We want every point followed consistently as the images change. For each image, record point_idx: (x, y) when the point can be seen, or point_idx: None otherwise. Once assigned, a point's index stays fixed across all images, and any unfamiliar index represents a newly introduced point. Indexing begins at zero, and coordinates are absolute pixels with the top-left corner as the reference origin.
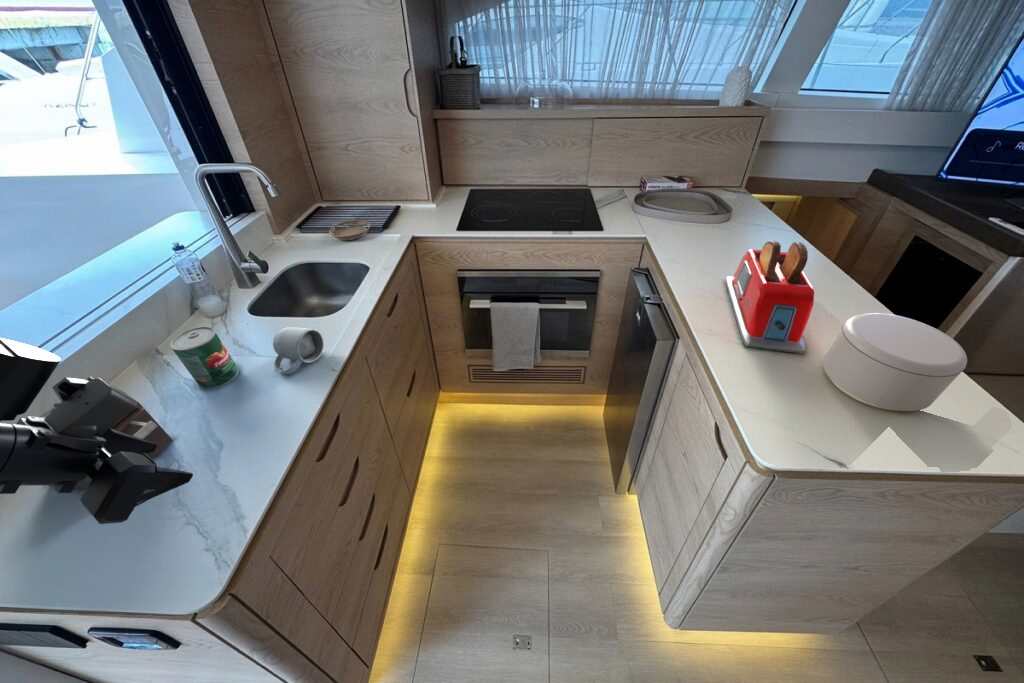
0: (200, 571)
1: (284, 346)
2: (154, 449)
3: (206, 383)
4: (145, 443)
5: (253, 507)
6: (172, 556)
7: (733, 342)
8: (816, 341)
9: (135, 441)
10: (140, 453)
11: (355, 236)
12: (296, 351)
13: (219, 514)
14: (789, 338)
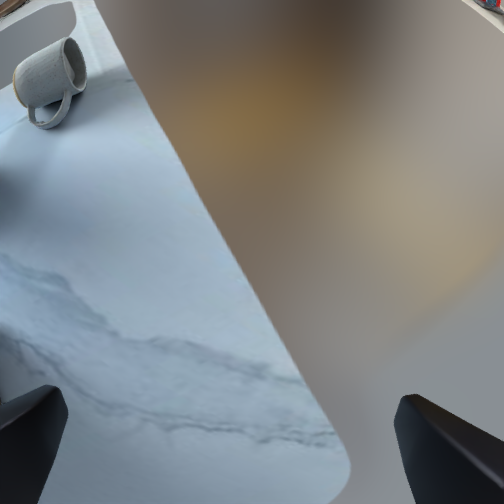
0: (295, 467)
1: (37, 80)
2: (64, 405)
3: None
4: (31, 416)
5: (260, 342)
6: (214, 478)
7: (474, 3)
8: None
9: (3, 440)
10: (53, 452)
11: (21, 1)
12: (63, 73)
13: (208, 388)
14: (496, 4)
